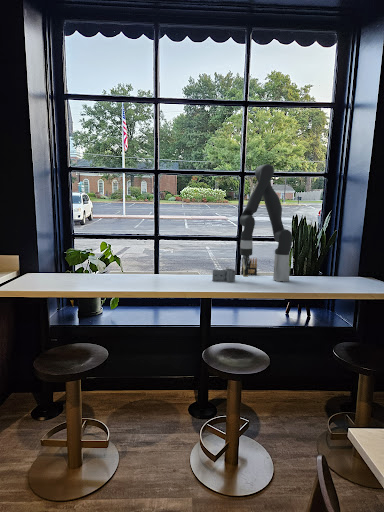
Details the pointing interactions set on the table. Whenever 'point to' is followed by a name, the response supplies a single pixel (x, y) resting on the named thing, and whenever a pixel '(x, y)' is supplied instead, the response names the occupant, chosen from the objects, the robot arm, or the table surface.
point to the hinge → (224, 275)
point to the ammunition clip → (251, 268)
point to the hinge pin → (244, 272)
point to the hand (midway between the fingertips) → (245, 274)
